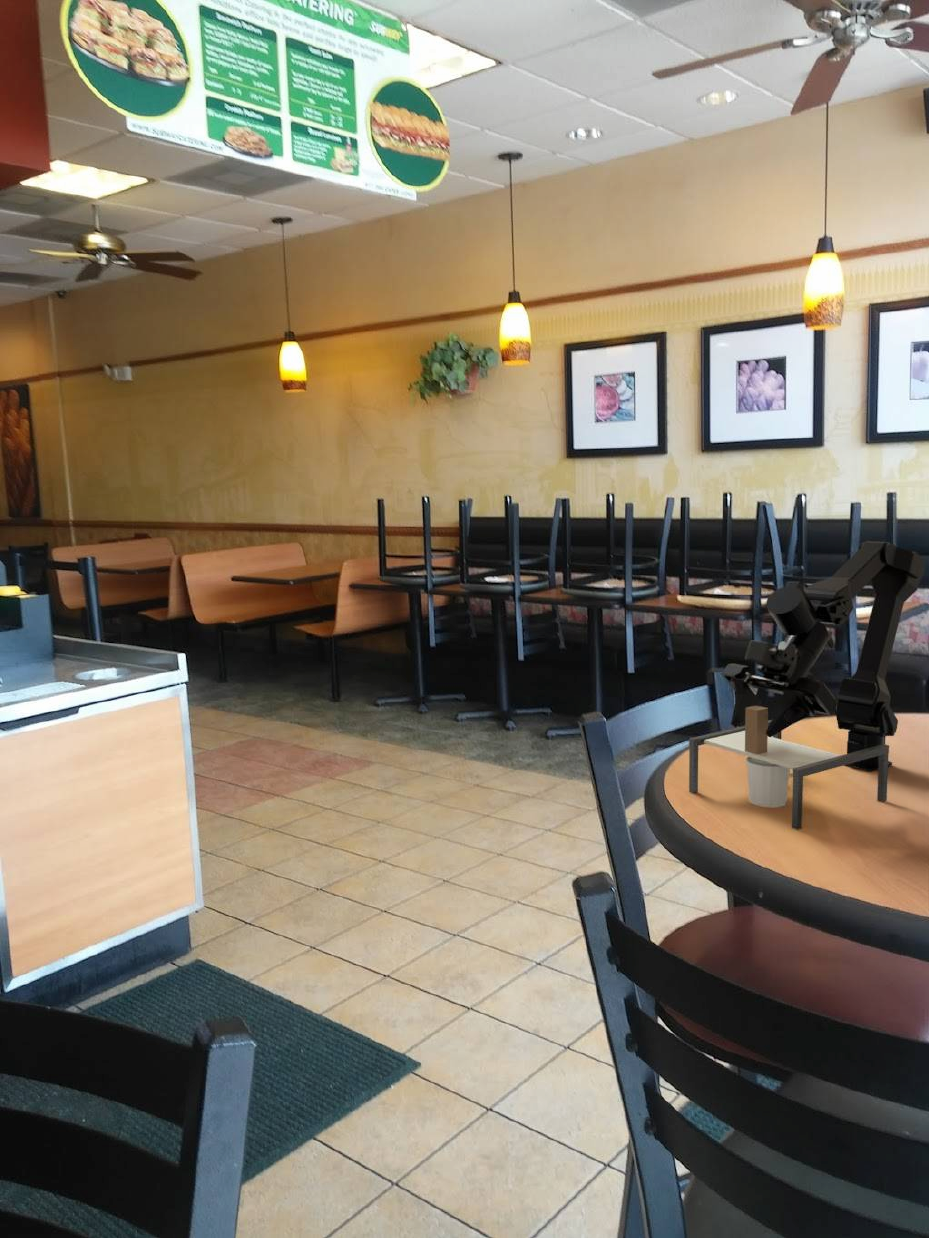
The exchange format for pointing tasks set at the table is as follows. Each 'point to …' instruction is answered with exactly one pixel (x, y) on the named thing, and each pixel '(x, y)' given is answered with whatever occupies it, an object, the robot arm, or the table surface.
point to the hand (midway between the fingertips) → (750, 730)
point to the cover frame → (800, 769)
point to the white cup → (767, 783)
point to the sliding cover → (767, 743)
